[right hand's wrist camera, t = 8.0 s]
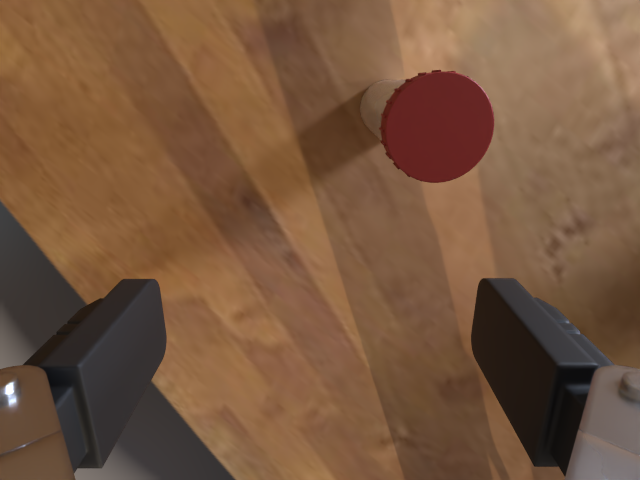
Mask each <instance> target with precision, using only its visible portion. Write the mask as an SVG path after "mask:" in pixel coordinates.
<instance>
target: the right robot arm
mask: <svg viewBox="0 0 640 480" xmlns="http://www.w3.org/2000/svg"><path fill="white" fill-rule="evenodd" d="M471 344H472V350H473V354H474V357H475V359H476V361H477V363H478V365H479V367H480V369H481V370H482V372H483V374H484V376H485V378H486V379H487V381H488V383H489V385H490V387H491V388H492V390H493V392H494V394H495V396H496V398H497V399H498V401H499V403H500V405H501V407H502V408H503V410H504V412H505V414H506V416H507V418H508V419H509V421H510V423H511V425H512V427H513V428H514V430H515V432H516V434H517V436H518V437H519V439H520V441H521V443H522V445H523V447H524V448H525V450H526V452H527V454H528V456H529V457H530V459H531V461H532V463H533V465H534V466H535V467H559V468H560V469H561V471H562V472H563V474H564V476H565V480H640V369H637V368H633V367H628V366H620V365H614V364H613V363H612V362H611V361H610V360H609V359H608V358H607V357H606V356H605V355H604V354H603V353H602V352H601V351H600V350H599V349H598V348H597V347H596V346H595V345H594V344H593V343H592V342H591V341H590V340H589V339H587V338H586V337H585V336H584V335H583V334H580V331H579V330H578V329H577V328H576V327H575V326H574V325H573V324H572V323H569V320H568V319H567V318H566V317H565V316H564V315H563V314H562V313H561V312H560V311H559V310H558V309H557V308H555V307H553V306H551V305H550V304H548V303H546V302H544V301H542V300H540V299H539V298H533V297H532V296H531V295H530V294H529V293H528V292H527V291H526V290H525V288H524V287H523V286H522V285H521V284H520V283H519V282H518V281H517V280H516V279H514V278H483V279H482V280H481V281H480V283H479V285H478V290H477V297H476V304H475V311H474V319H473V326H472V333H471ZM165 350H166V329H165V322H164V315H163V308H162V301H161V294H160V288H159V284H158V282H157V281H156V280H155V279H123V280H121V281H120V282H119V283H118V284H117V285H116V286H115V287H114V288H113V289H112V290H111V291H110V292H109V293H108V294H107V295H106V297H105V298H100V299H98V300H96V301H94V302H93V303H91V304H89V305H87V306H85V307H83V308H82V309H80V310H79V311H78V312H77V313H76V314H75V315H74V316H73V317H72V318H71V319H70V320H69V321H68V323H67V324H65V325H64V326H63V327H61V328H60V329H59V330H58V331H57V334H56V335H53V336H52V337H51V338H50V339H49V340H48V341H47V342H46V343H45V344H44V345H43V346H42V347H41V348H40V349H39V350H38V351H37V352H36V353H35V354H34V355H33V356H31V357H30V358H29V359H28V360H27V361H26V362H25V363H24V364H23V365H20V366H12V367H7V368H3V369H0V480H75V476H74V473H75V471H76V470H77V468H102V467H103V465H104V463H105V462H106V460H107V458H108V456H109V455H110V453H111V451H112V449H113V447H114V446H115V444H116V442H117V440H118V438H119V437H120V435H121V433H122V431H123V429H124V428H125V426H126V424H127V422H128V421H129V419H130V417H131V415H132V413H133V412H134V410H135V408H136V406H137V404H138V403H139V401H140V399H141V397H142V395H143V394H144V392H145V390H146V388H147V386H148V385H149V383H150V381H151V379H152V378H153V376H154V374H155V372H156V370H157V369H158V367H159V365H160V363H161V361H162V359H163V357H164V354H165Z"/></svg>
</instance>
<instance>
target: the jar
mask: <svg viewBox="0 0 640 480" xmlns="http://www.w3.org/2000/svg"><path fill="white" fill-rule="evenodd" d="M405 80H406V79H398V80H382V81H378V82H376V83H374V84H373V85H371V86H370V87H369V88H368V89H367V90H366V92H365V93H364V95H363V97H362V100H361V104H360V114H361V117H362V120H363V122H364V123H365V125H366V126H367V127H368V128H369V129H370V130H371V131H372V132H373V133H374V134H375V135H376V136H377V137H378V138H379V139H380V140H382V137H381V131H380V130H379V127H381V119H382V116H381V113H382V114H383V111H384V108H385V106H386V104H387V103H386V100H389V99H390V97H391V96H392V94H393V93H394V92H395V91H394V89H395V88H399V87H400V86H401V85H402V84H403V83H405V82H406V81H405Z"/></svg>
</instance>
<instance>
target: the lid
mask: <svg viewBox="0 0 640 480" xmlns="http://www.w3.org/2000/svg"><path fill="white" fill-rule="evenodd" d="M455 72H456V71H448V72H441V70H433V71H432V73H426V72H425V73H418V76H415V77H413V78H411V79H406V80H405V81H406V82H405V83H403V84H402V85H401V86H400V87H399V88H395V89H394V91H395V92H394V93H393V94H392V96H391V97H390V99H389V100H386V103H387V104H386V106H385V108H384V111H383V114H382V113H381V116H382V119H381V127H379V130H380V131H381V137H382V140H381V143H382V144H383V145H384V148H385V150H386V155H387V156H388V157H389V158H390V159H392V160H393V161H394V163H393V164H394V165H395V166H396V167H397V168H398V169H401V170H402V171H403V172H405V173H406V175H407V176H409V177H410V176H411V177H413V178H415V179H417V180H420V181H424V182H430V183H438V182H446V181H450V180H453V179H456V178H458V177H460V176H462V175H464V174H465V173H467V172H468V171H470V170H471V169H472V168H473V167H474V166H475V165H476V164H477V163H478V162H479V161H480V160H481V159H482V157H483V156H484V154H485V153H486V151H487V149H488V147H489V145H490V142H491V139H492V136H493V130H494V114H493V109H492V105H491V103H490V100H489V98H488V96H487V95H486V93H485V92H484V90H483V89H482V88H481V87H480V86H479V85H478V84H477V83H476V82H475V81H473V80H472V79H470V78H469V77H468V76H464V75H462V74H458V73H455Z"/></svg>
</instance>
